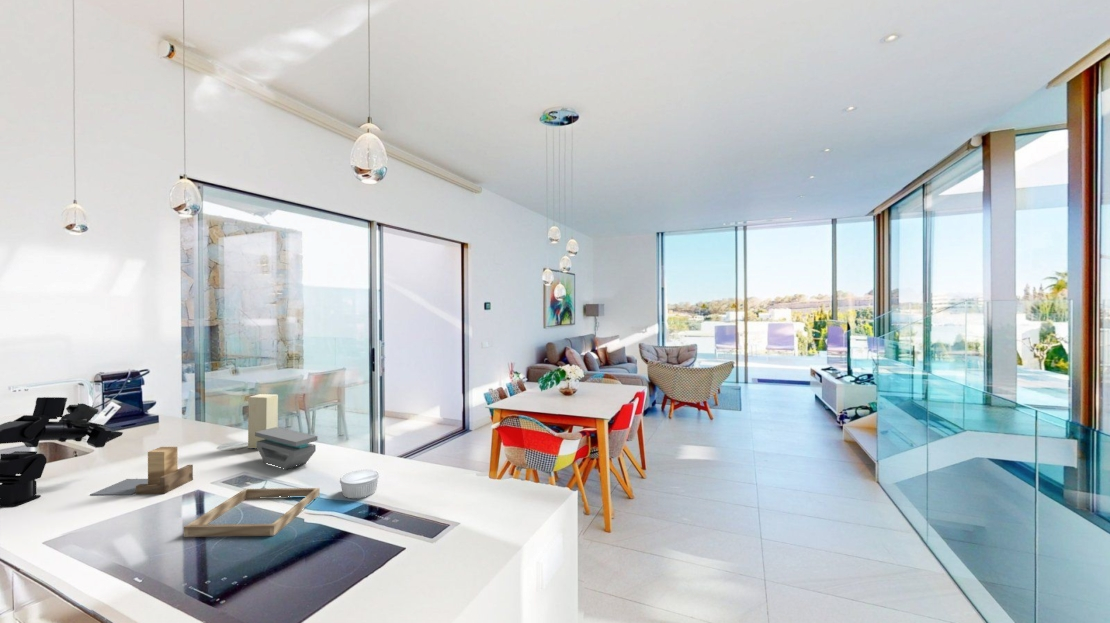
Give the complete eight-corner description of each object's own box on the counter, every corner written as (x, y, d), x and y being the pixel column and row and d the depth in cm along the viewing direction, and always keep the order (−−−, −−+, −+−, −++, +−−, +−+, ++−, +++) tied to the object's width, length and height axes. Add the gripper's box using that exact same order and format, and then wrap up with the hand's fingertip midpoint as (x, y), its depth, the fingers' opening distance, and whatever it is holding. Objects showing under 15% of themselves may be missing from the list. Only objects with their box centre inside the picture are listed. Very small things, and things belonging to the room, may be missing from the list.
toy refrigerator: (279, 444, 184) (279, 393, 184) (266, 449, 177) (266, 397, 176) (261, 443, 185) (261, 393, 184) (247, 449, 177) (247, 397, 177)
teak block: (164, 490, 138) (164, 451, 138) (148, 490, 138) (147, 451, 138) (177, 483, 143) (177, 446, 143) (161, 483, 143) (161, 446, 143)
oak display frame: (274, 535, 111) (273, 525, 111) (183, 536, 110) (183, 526, 110) (319, 496, 134) (319, 488, 134) (245, 497, 133) (245, 488, 133)
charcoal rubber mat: (131, 494, 134) (131, 493, 134) (90, 495, 134) (90, 494, 134) (164, 479, 146) (164, 478, 146) (127, 479, 146) (127, 478, 146)
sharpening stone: (255, 461, 164) (254, 432, 164) (276, 455, 171) (276, 426, 171) (296, 473, 152) (295, 442, 152) (317, 466, 159) (317, 436, 159)
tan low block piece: (164, 493, 135) (164, 477, 135) (135, 494, 135) (135, 477, 135) (192, 479, 146) (192, 464, 146) (166, 480, 146) (166, 464, 146)
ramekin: (364, 502, 130) (364, 484, 130) (331, 498, 132) (331, 481, 132) (386, 487, 141) (386, 470, 141) (355, 484, 143) (355, 468, 143)
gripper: (89, 413, 138) (142, 414, 153) (48, 397, 142) (103, 400, 157) (72, 449, 136) (128, 446, 151) (31, 432, 140) (88, 431, 155)
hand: (112, 430), depth 154 cm, fingers open, 9 cm apart
